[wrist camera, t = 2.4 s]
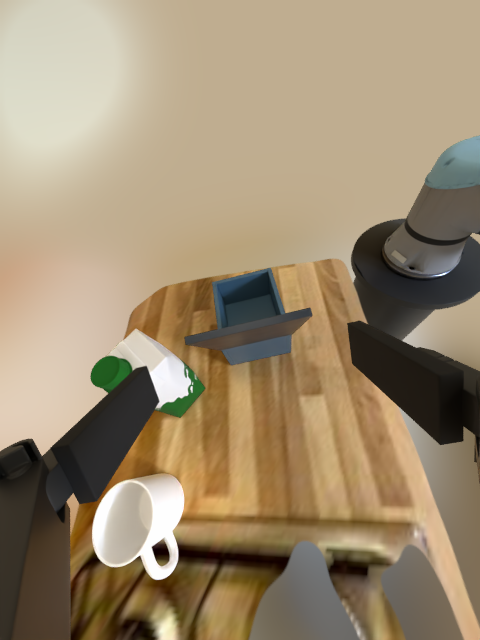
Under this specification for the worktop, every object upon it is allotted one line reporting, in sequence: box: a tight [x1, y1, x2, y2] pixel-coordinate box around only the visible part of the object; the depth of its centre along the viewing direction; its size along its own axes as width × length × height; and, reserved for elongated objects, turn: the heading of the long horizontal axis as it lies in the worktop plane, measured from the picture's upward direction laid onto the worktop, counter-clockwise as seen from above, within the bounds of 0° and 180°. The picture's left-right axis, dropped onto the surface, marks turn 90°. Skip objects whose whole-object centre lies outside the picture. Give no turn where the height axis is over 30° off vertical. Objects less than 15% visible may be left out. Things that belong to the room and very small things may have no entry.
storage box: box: [212, 268, 291, 365], centre depth 46 cm, size 16×13×9 cm
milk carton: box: [91, 329, 205, 418], centre depth 37 cm, size 9×9×20 cm
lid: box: [185, 308, 312, 351], centre depth 30 cm, size 17×13×1 cm
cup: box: [92, 473, 184, 580], centre depth 31 cm, size 8×12×10 cm
